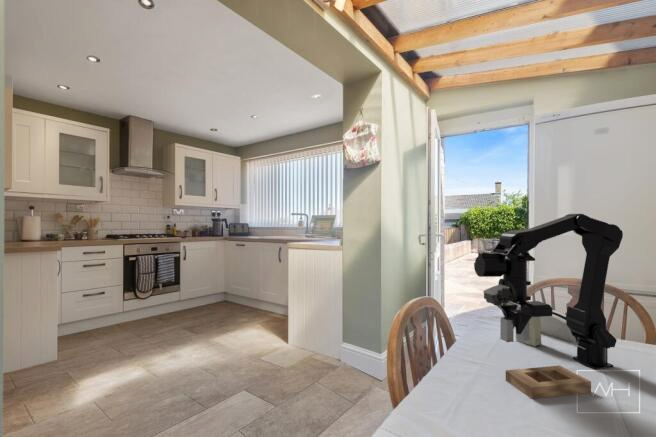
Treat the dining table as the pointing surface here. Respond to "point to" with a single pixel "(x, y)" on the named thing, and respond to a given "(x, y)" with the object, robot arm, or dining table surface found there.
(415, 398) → the dining table surface
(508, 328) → the clip
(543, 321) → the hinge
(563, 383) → the two-slot wooden tray
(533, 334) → the skincare box
